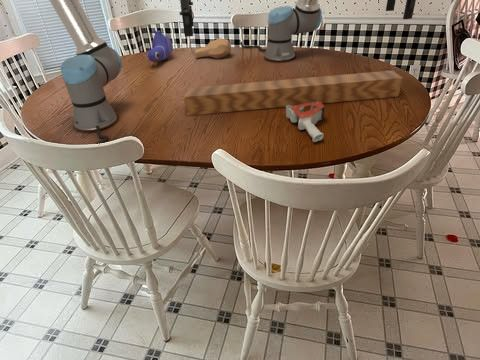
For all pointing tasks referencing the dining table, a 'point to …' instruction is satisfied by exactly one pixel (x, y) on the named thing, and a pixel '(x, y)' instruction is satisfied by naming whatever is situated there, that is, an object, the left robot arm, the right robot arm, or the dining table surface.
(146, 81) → the dining table surface
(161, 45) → the toy
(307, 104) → the tape dispenser
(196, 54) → the squash
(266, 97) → the thick board
